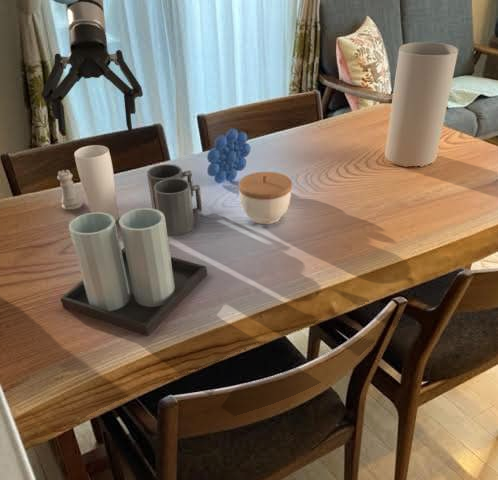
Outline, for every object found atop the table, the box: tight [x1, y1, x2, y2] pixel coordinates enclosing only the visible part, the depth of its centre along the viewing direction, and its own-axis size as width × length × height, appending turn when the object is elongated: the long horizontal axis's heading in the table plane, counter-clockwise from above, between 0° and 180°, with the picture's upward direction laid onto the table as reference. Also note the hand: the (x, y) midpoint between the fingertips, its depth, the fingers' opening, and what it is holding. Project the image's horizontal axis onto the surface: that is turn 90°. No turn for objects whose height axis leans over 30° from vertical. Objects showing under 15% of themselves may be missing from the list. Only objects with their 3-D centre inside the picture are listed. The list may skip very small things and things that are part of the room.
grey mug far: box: [146, 164, 195, 210], centre depth 114 cm, size 10×7×9 cm
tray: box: [59, 247, 208, 337], centre depth 93 cm, size 17×18×2 cm
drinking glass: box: [73, 144, 120, 223], centre depth 109 cm, size 7×7×15 cm
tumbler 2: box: [118, 207, 175, 307], centre depth 87 cm, size 7×7×15 cm
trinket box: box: [238, 171, 293, 225], centre depth 110 cm, size 11×11×9 cm
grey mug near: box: [153, 178, 203, 236], centre depth 108 cm, size 10×7×9 cm
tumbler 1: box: [68, 212, 131, 311], centre depth 87 cm, size 7×7×15 cm
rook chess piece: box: [56, 169, 83, 212], centre depth 116 cm, size 4×4×8 cm
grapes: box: [206, 128, 251, 184], centre depth 124 cm, size 12×7×12 cm, turn 124°
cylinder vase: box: [384, 41, 459, 168], centre depth 126 cm, size 12×12×25 cm
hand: (96, 130), depth 111 cm, fingers open, 13 cm apart
